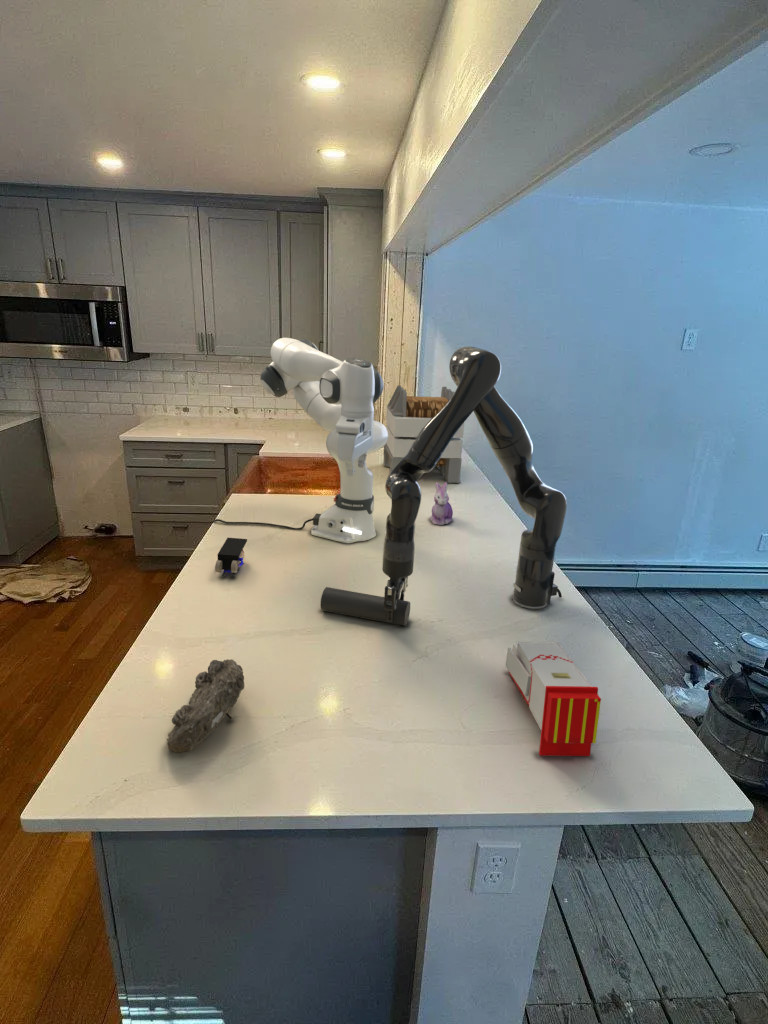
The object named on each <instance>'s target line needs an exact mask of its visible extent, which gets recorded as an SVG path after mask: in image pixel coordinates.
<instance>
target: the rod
mask: <svg viewBox="0 0 768 1024" xmlns="http://www.w3.org/2000/svg"><path fill="white" fill-rule="evenodd" d="M389 604H392V602H390V601H389ZM319 605H320V610H321V611H323V612H328V613H333V614H339V615H345V616H351V617H356V618H361V619H367V620H371V621H377V622H382V623H387V624H391V625H392V624H394V625H398V626H403V627H406V626H407V625H408V622H409V619H410V614H411V602H410V601H408V600H405V599H404V600H399V601H397V608H396V616H395V622H394V623H392V622H387V621H386V609H384V608H383V606H384V596H382V595H381V596H380V595H374V594H370V593H369V594H368V593H363V592H357V591H352V590H346V589H340V588H334V587H330V586H326V587H325V588H324V589H323V591H322V593H321V597H320V604H319Z"/></svg>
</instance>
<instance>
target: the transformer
mask: <svg viewBox="0 0 768 1024" xmlns="http://www.w3.org/2000/svg"><path fill="white" fill-rule="evenodd" d="M440 393H441V394H440V396H415V395H414V396H413V395H412V396H411V395H407V394H408V393H407V390H406V389H404V388H403V387H402V385H399V384H398V385H397V386H396V388H395V390H394V392H393V394H392V395H391V398H390V400H389V402H388V404H387V405H386V413H385V414H386V415H385V423H386V426H385V427H386V429H387V432H388V440H387V443H386V444H385V446H383V466H384V467H388V468H389V474H390V473H391V472H392V470H393V469H394V468H395V467H396V465H397V464H398V463H399V462H400V461H401V460H402V459H403V458H404V457H405V456H406V455H407V453H408V451H409V449H410V448H411V446H412V444H413V443H414V441H415V439H416V438H417V436H418V434H419V433H420V431H421V430H422V429H423V427H424V426H425V425H426V424H427V423H428V422H429V421H430V420H431V419H432V418H433V417H434V416H435V415H436V414H437V413H438V412H440V411H441V409H442V408H443V407H444V406H445V405H446V404H447V403H448V402H449V400H450V399H451V398H452V396H453V395H454V393H455V391H453V390H452V389H451V388H447V386H442V387H441V392H440ZM464 429H465V422H464V423H463V424H462V426H461V427H460V428H459V430H458V431H457V432H456V434H455V435H454V436H453V438H452V439H451V441H450V442H449V444H448V446H447V447H446V449H445V450H444V452H443V454H442V455H441V457H440V459H439V460H438V462H437V464H436V465H435V467H436V468H437V470H438V469H439V473H440V474H441V475H443V478H444V479H445V482H447V484H448V483H449V484H455V483H456V484H459V483H461V472H462V461H463V460H462V453H463V442H464V441H463V440H462V439H463V438H464V431H465V430H464Z"/></svg>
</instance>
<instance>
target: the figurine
mask: <svg viewBox="0 0 768 1024" xmlns="http://www.w3.org/2000/svg"><path fill="white" fill-rule="evenodd" d="M447 489H448V482H447V481H444V483H443V484H442V485H440V483H438V482H435V493H434V496H433V500H434V502H435V503H434V504H433V506H432V507H431V516H430V521H431V522H432V524H434V525H439V526H442V525H446V524H450V523H451V522H452V519H453V515H454V510H453V507H452V504H451V503H450V502H449V500H450V497H449V494H448V491H447Z"/></svg>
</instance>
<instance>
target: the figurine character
mask: <svg viewBox="0 0 768 1024" xmlns="http://www.w3.org/2000/svg"><path fill="white" fill-rule="evenodd" d="M247 542H248V538H240V537H226V539H225V541H224V543H223V544H222V546H221V547H220V549H219V551H218V552H217V560H216V562H215V564H214V572H215V573H221V577H222V578H224V577H225V576H226V574H227V573H230V574H231V573H232V574H231V578H234V577H235V575H236V573H237V572H239V571H240V567H242V566H243V565H244V564H245V562H244V558H245V551H244V547H245V546H246V544H247Z"/></svg>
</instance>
